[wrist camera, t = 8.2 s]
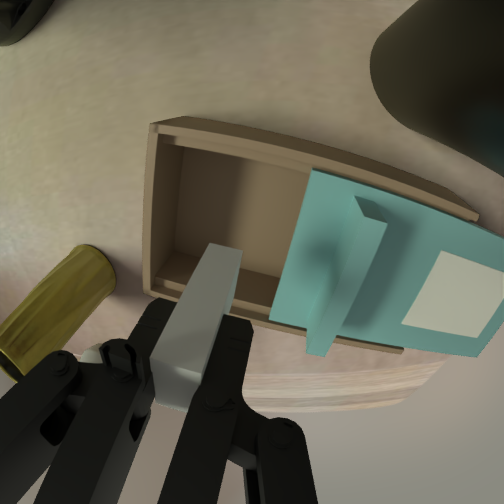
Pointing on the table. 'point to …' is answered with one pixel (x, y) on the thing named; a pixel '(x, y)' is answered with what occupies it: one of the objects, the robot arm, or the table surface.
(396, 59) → the water bottle
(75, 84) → the table surface
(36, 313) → the vase
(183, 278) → the wooden sliding-lid box
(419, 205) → the lid
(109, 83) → the table surface
